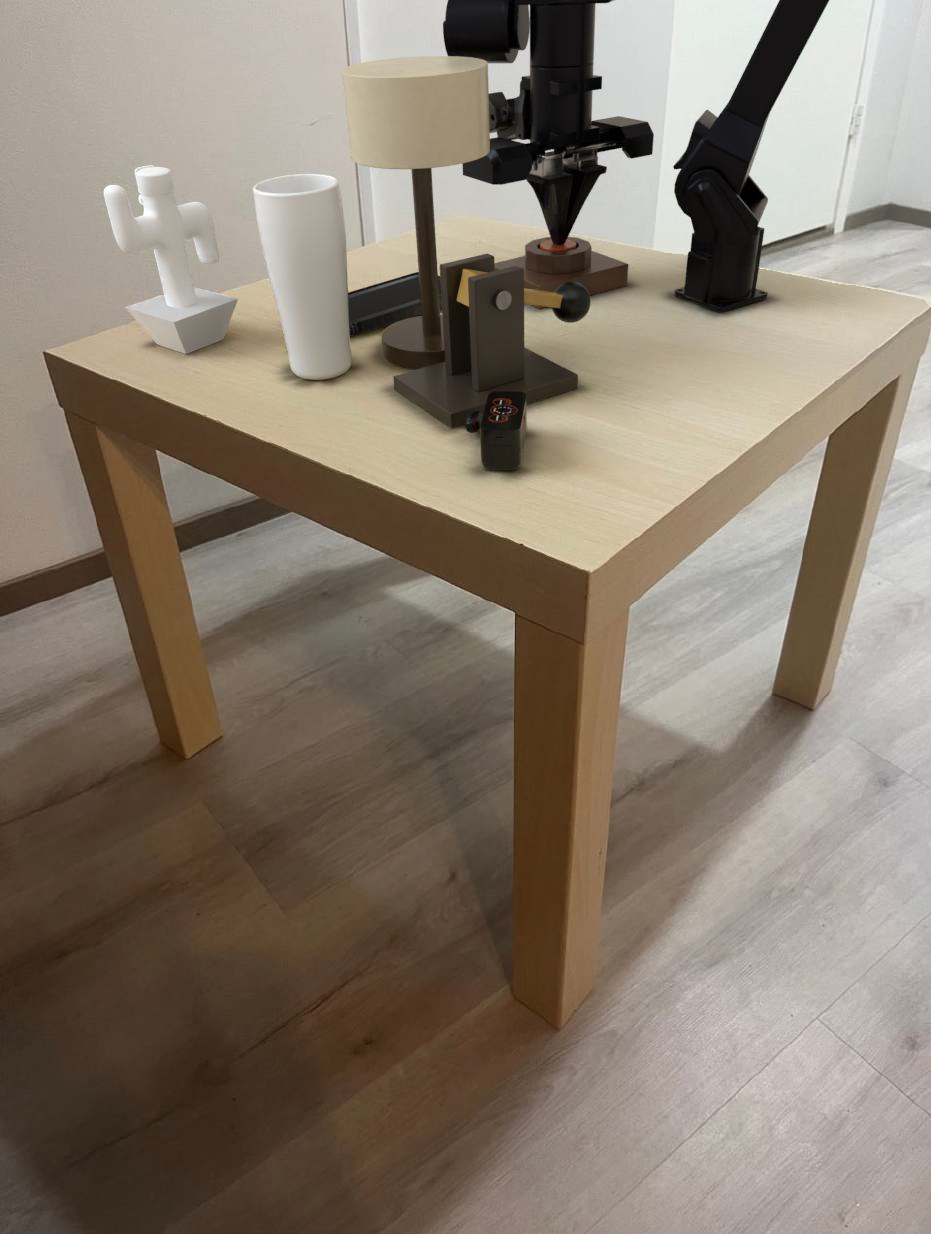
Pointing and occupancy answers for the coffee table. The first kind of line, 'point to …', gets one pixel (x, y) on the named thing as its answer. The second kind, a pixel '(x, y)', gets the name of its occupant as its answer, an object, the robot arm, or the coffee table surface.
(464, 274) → the lever
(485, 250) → the coffee table surface
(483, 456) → the wireless earbuds
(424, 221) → the lamp
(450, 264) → the lamp switch
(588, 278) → the switch box
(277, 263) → the drinking glass
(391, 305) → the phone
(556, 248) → the button
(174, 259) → the figurine
